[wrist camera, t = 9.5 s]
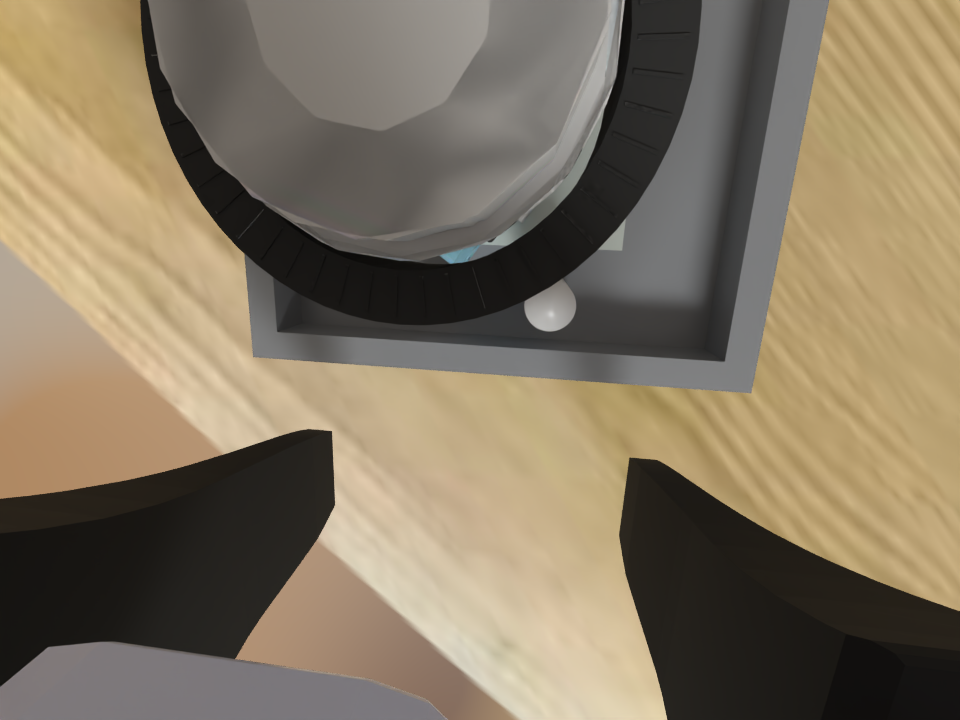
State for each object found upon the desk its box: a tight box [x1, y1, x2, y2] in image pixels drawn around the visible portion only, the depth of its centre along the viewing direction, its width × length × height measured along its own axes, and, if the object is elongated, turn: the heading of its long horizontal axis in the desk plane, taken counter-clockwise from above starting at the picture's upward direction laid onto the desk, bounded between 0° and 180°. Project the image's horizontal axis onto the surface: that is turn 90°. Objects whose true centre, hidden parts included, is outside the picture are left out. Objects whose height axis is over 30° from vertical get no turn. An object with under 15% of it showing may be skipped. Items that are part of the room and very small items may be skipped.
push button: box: [140, 0, 702, 325], centre depth 8 cm, size 7×5×10 cm
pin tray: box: [245, 0, 829, 393], centre depth 11 cm, size 14×16×4 cm
